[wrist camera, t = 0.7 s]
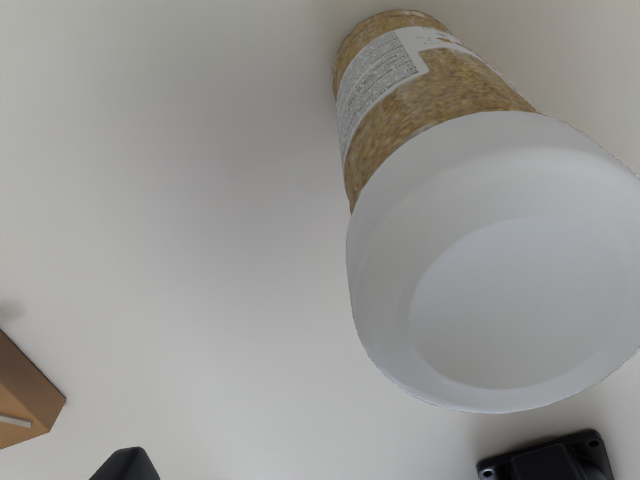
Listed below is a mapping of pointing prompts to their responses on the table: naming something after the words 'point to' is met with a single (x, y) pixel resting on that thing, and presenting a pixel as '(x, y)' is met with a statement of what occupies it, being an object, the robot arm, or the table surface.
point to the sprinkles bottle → (478, 227)
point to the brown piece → (24, 397)
